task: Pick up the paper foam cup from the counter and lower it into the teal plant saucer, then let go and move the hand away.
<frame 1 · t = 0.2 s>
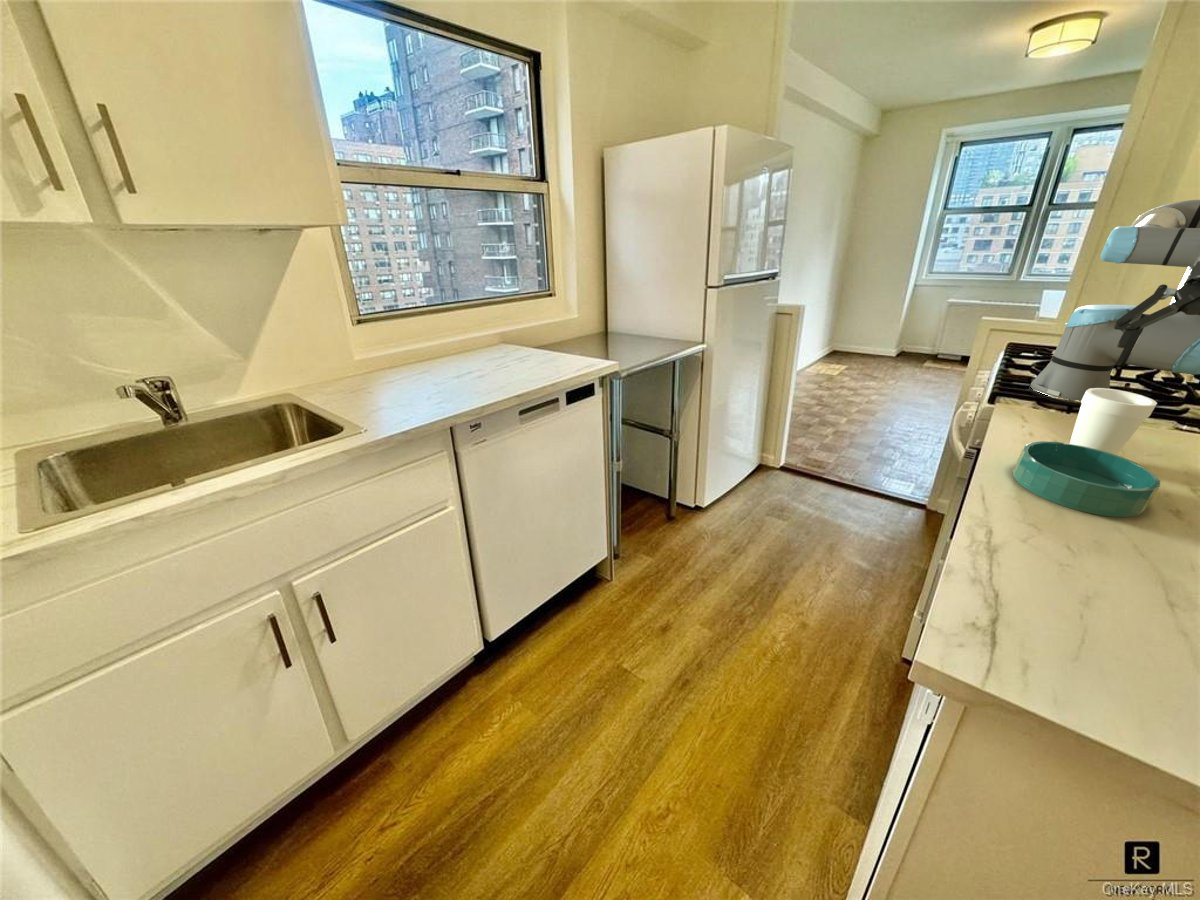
hand: (1168, 371, 92), 16 cm above the worktop, tool tilted 35°, fingers open, 13 cm apart
foam cup: (1087, 459, 95), on the worktop
teal plant saucer: (1074, 488, 85), on the worktop
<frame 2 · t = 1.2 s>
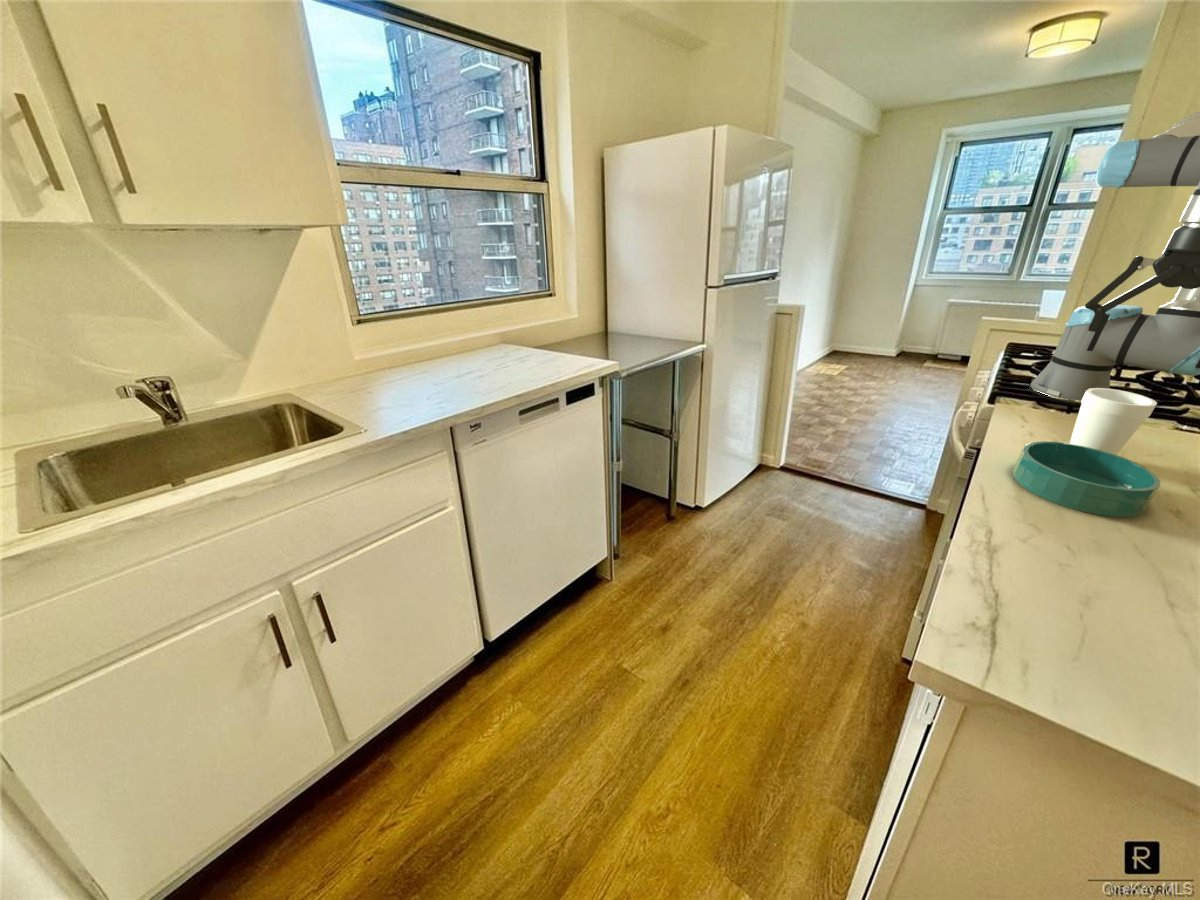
hand: (1141, 357, 86), 20 cm above the worktop, tool pointing down, fingers open, 13 cm apart
nothing on the worktop moved.
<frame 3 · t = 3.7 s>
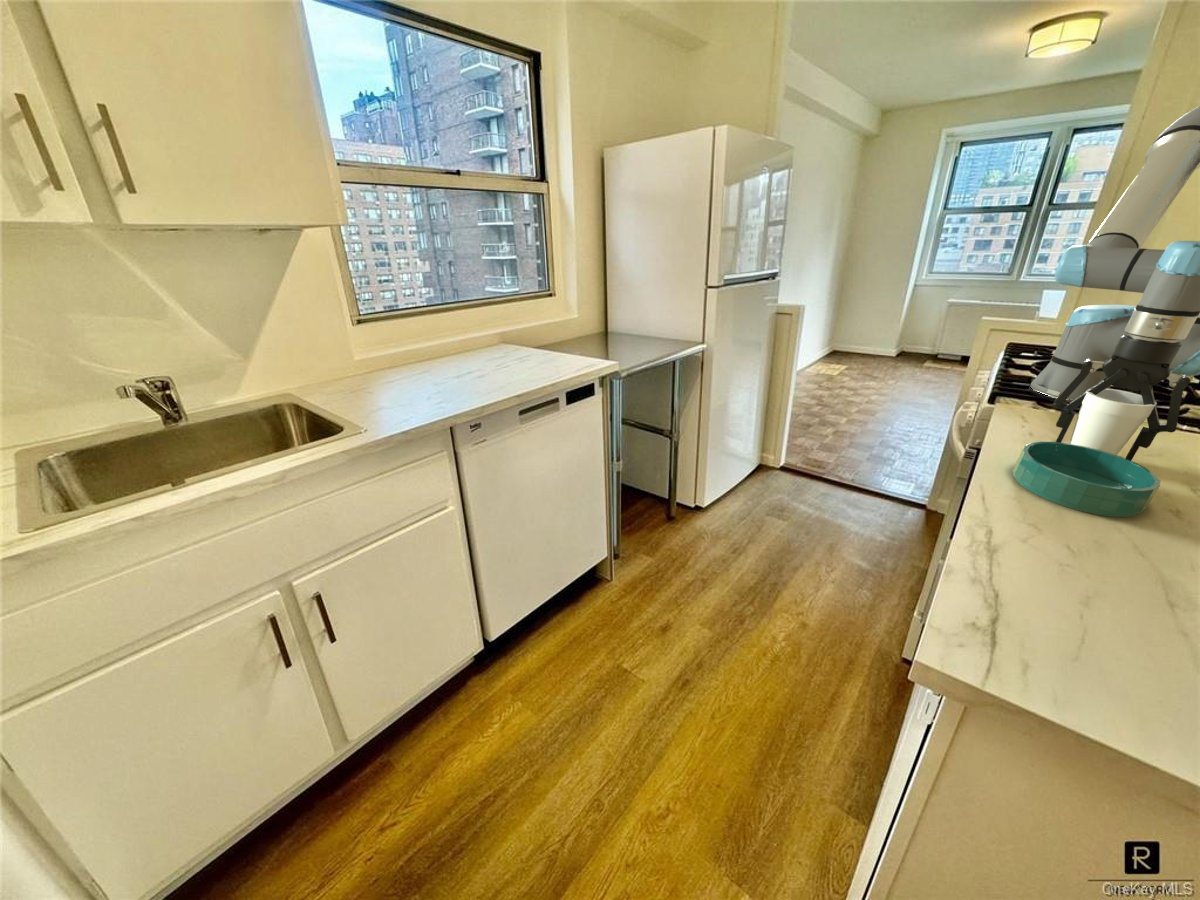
hand: (1091, 451, 94), 2 cm above the worktop, tool pointing down, fingers closed on foam cup, 9 cm apart
foam cup: (1087, 459, 95), on the worktop, touching gripper
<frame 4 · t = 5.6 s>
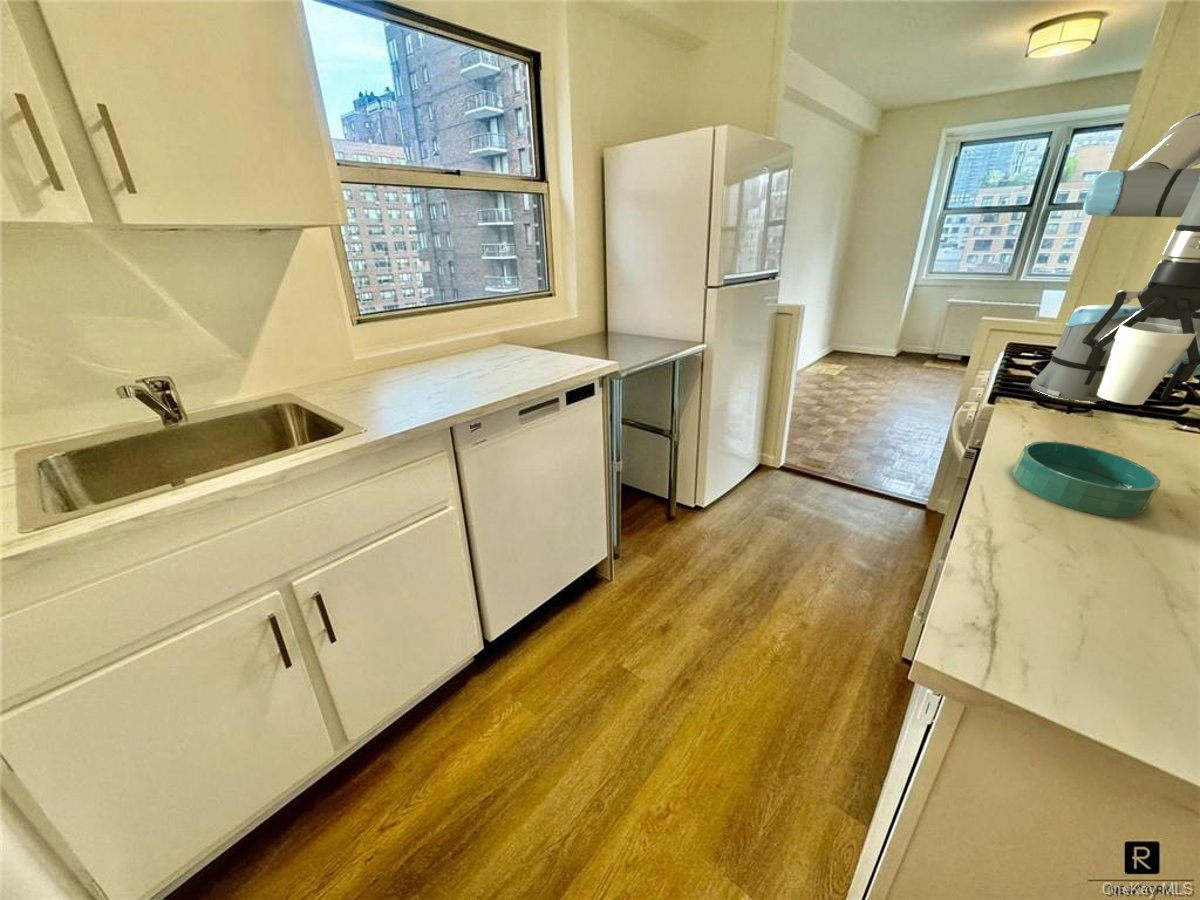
hand: (1124, 390, 89), 14 cm above the worktop, tool pointing down, fingers closed on foam cup, 9 cm apart
foam cup: (1119, 399, 89), point 12 cm above the worktop, touching gripper
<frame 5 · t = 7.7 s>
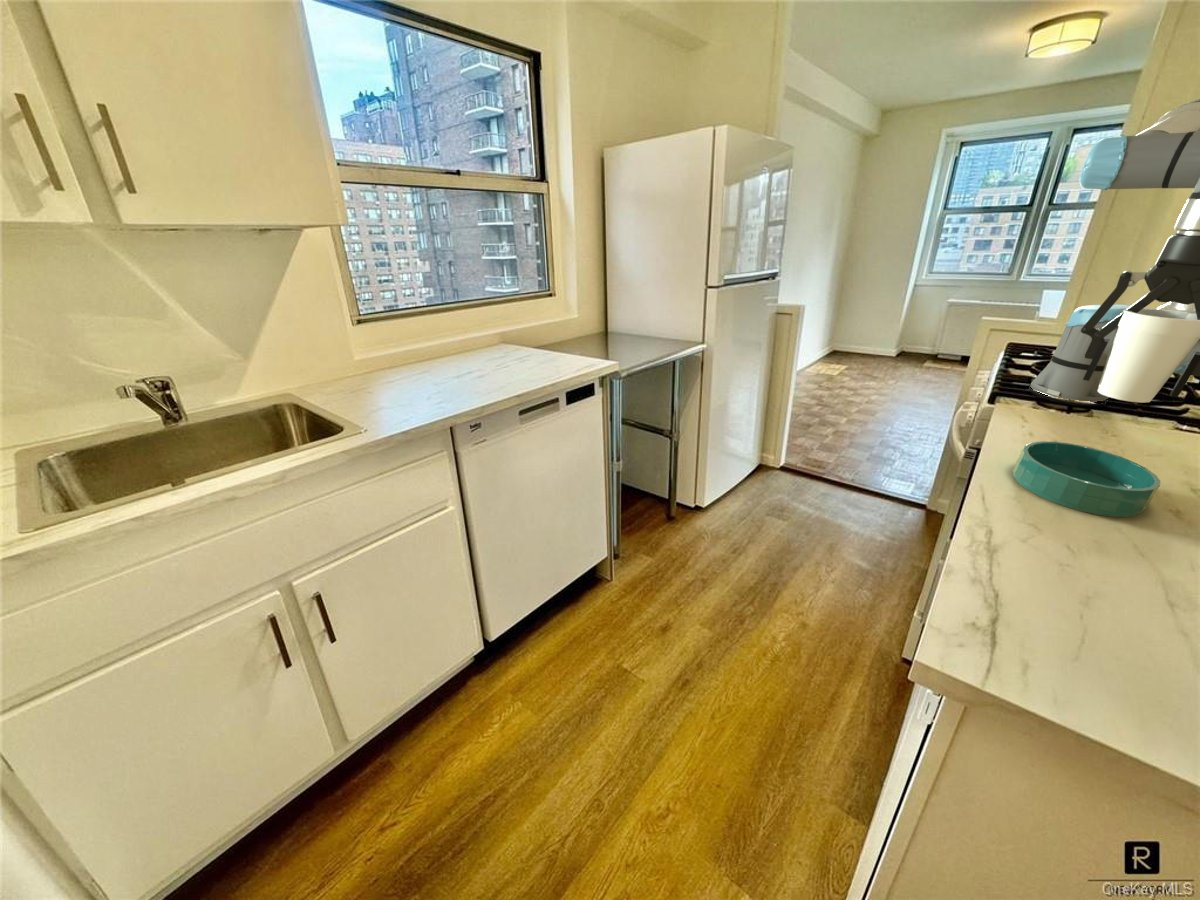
hand: (1128, 386, 77), 19 cm above the worktop, tool pointing down, fingers closed on foam cup, 9 cm apart
foam cup: (1123, 396, 78), point 17 cm above the worktop, touching gripper
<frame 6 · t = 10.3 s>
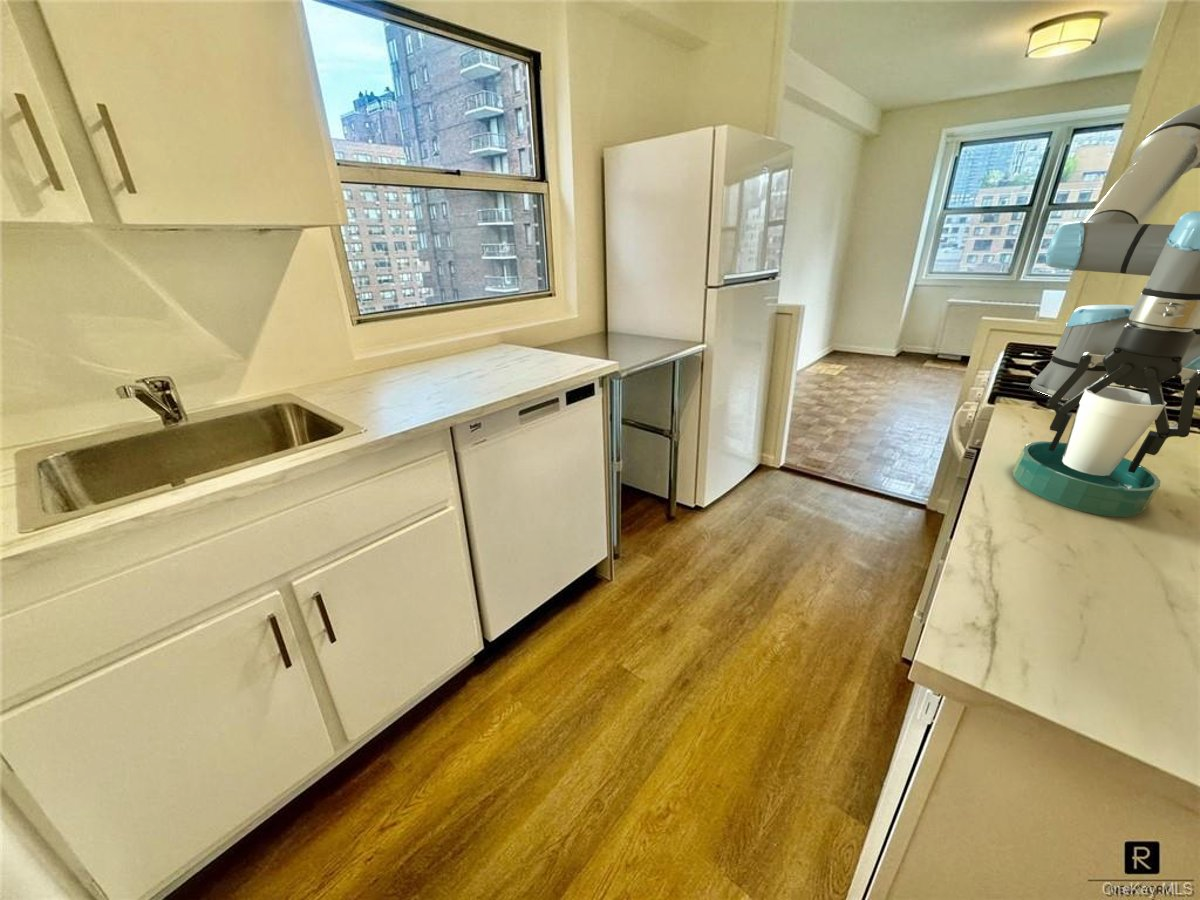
hand: (1090, 458, 82), 6 cm above the worktop, tool pointing down, fingers closed on foam cup, 9 cm apart
foam cup: (1085, 467, 83), point 4 cm above the worktop, touching gripper
when the fingers open (2 cm above the worktop, at t = 12.0 s): foam cup stays where it is, resting on teal plant saucer.
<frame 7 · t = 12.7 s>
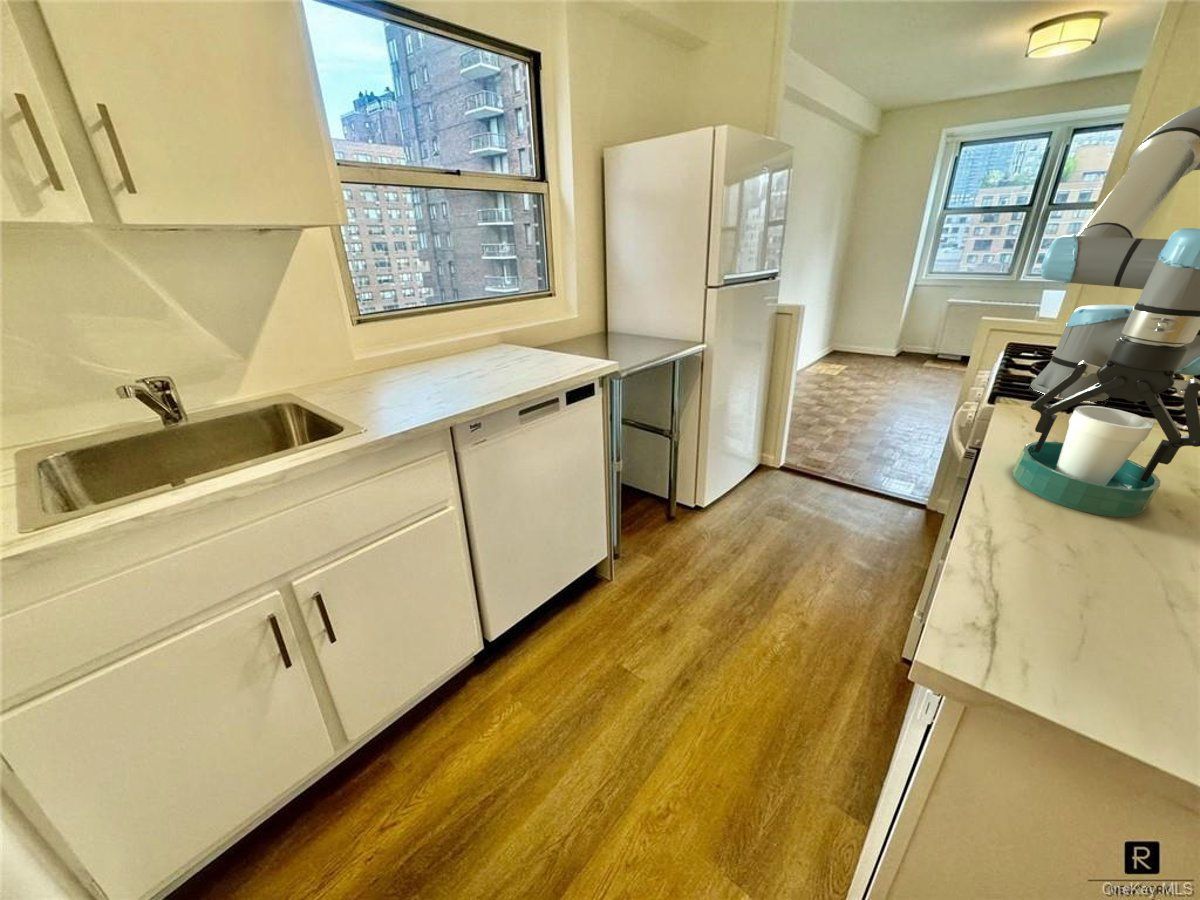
hand: (1087, 463, 83), 5 cm above the worktop, tool pointing down, fingers open, 13 cm apart
foam cup: (1075, 485, 85), point 1 cm above the worktop, touching teal plant saucer
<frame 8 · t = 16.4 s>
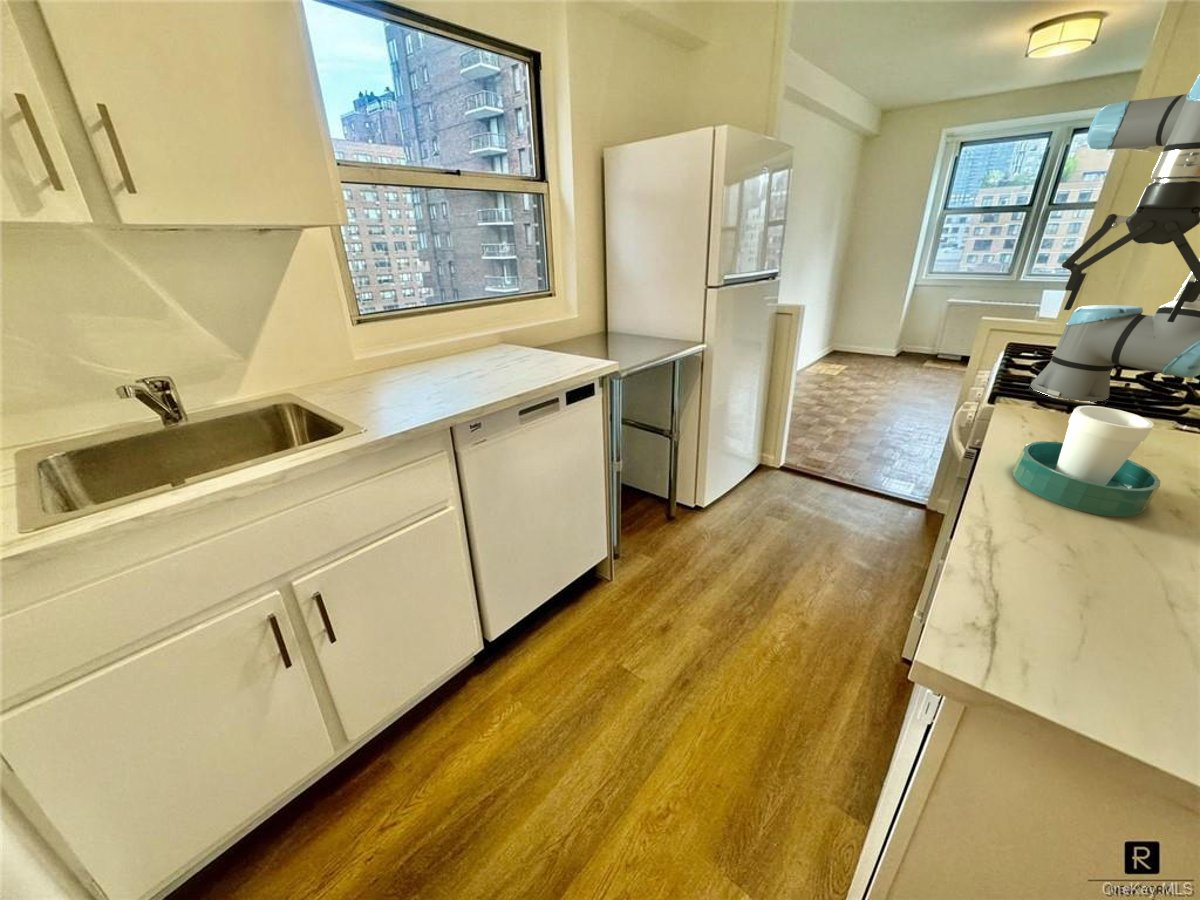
hand: (1116, 315, 88), 27 cm above the worktop, tool pointing down, fingers open, 13 cm apart
nothing on the worktop moved.
at the end: foam cup inside the target area in the teal plant saucer (0.0 cm from its centre), point 0.6 cm above the teal plant saucer's base; foam cup tilted 0°; the gripper is holding nothing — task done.
